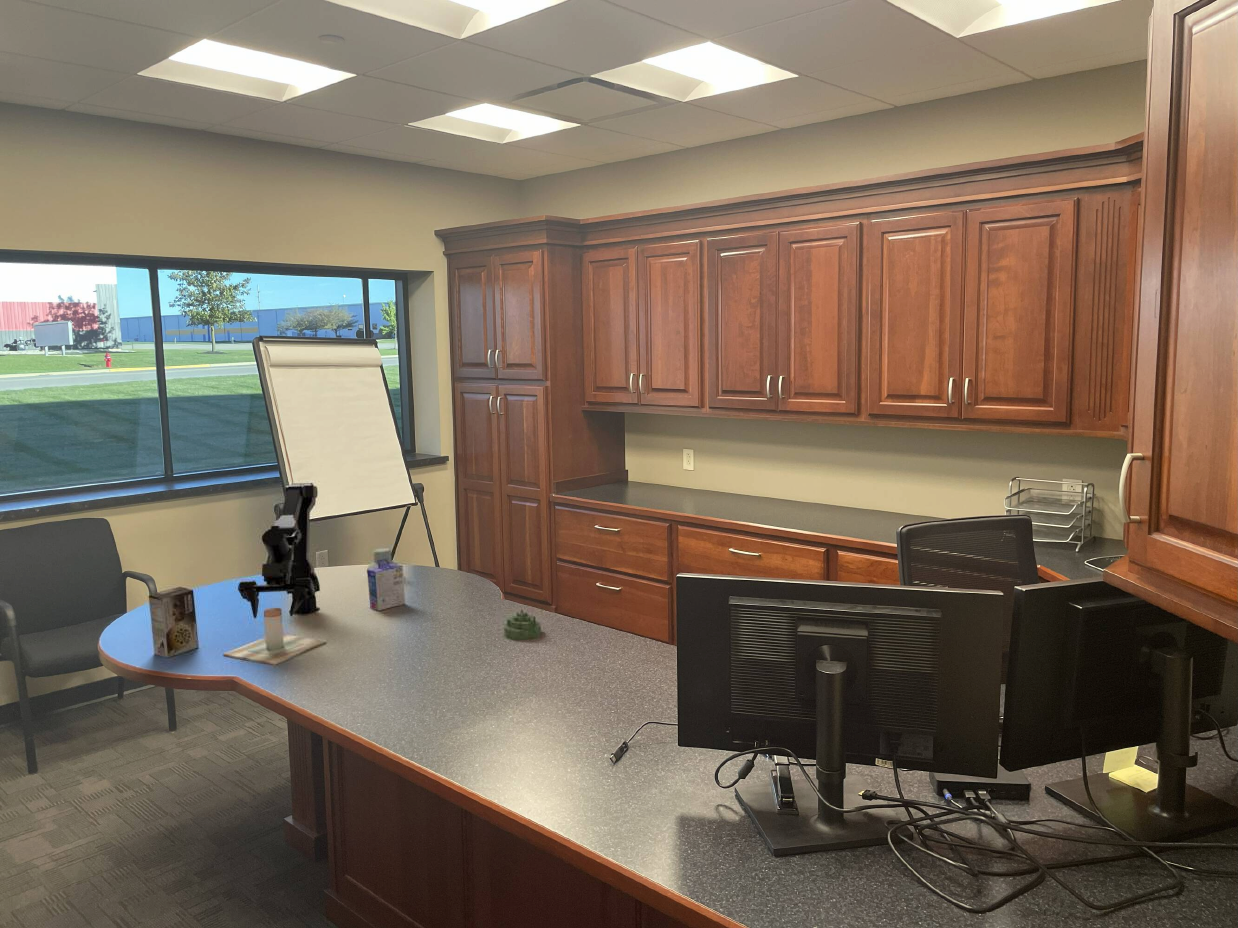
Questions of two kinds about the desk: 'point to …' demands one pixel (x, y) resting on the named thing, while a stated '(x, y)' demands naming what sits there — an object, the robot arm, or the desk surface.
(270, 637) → the tube
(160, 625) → the brown food box
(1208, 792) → the desk surface
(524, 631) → the decorative artifact
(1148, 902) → the desk surface
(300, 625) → the desk surface
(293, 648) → the board
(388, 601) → the ink cartridge box
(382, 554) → the air freshener
